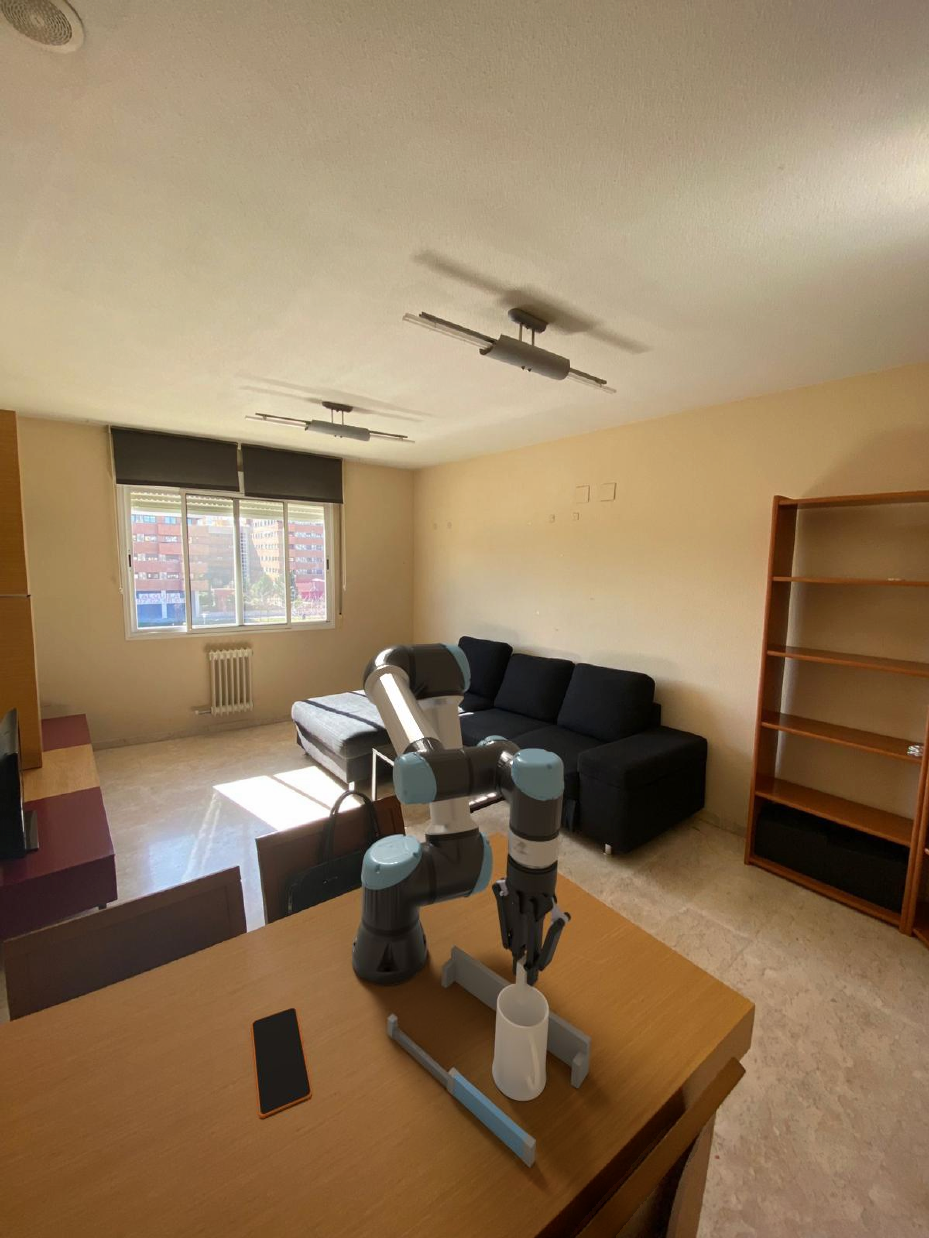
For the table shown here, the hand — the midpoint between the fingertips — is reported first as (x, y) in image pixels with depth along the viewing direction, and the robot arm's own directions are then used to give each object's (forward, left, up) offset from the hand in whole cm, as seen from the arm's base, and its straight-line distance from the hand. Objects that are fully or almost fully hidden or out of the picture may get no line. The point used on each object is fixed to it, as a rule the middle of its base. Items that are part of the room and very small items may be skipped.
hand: (523, 997), depth 78 cm
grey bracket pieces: (-6, -1, -14) cm, 15 cm away
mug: (+1, -1, -14) cm, 14 cm away
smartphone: (-30, -23, -14) cm, 41 cm away
